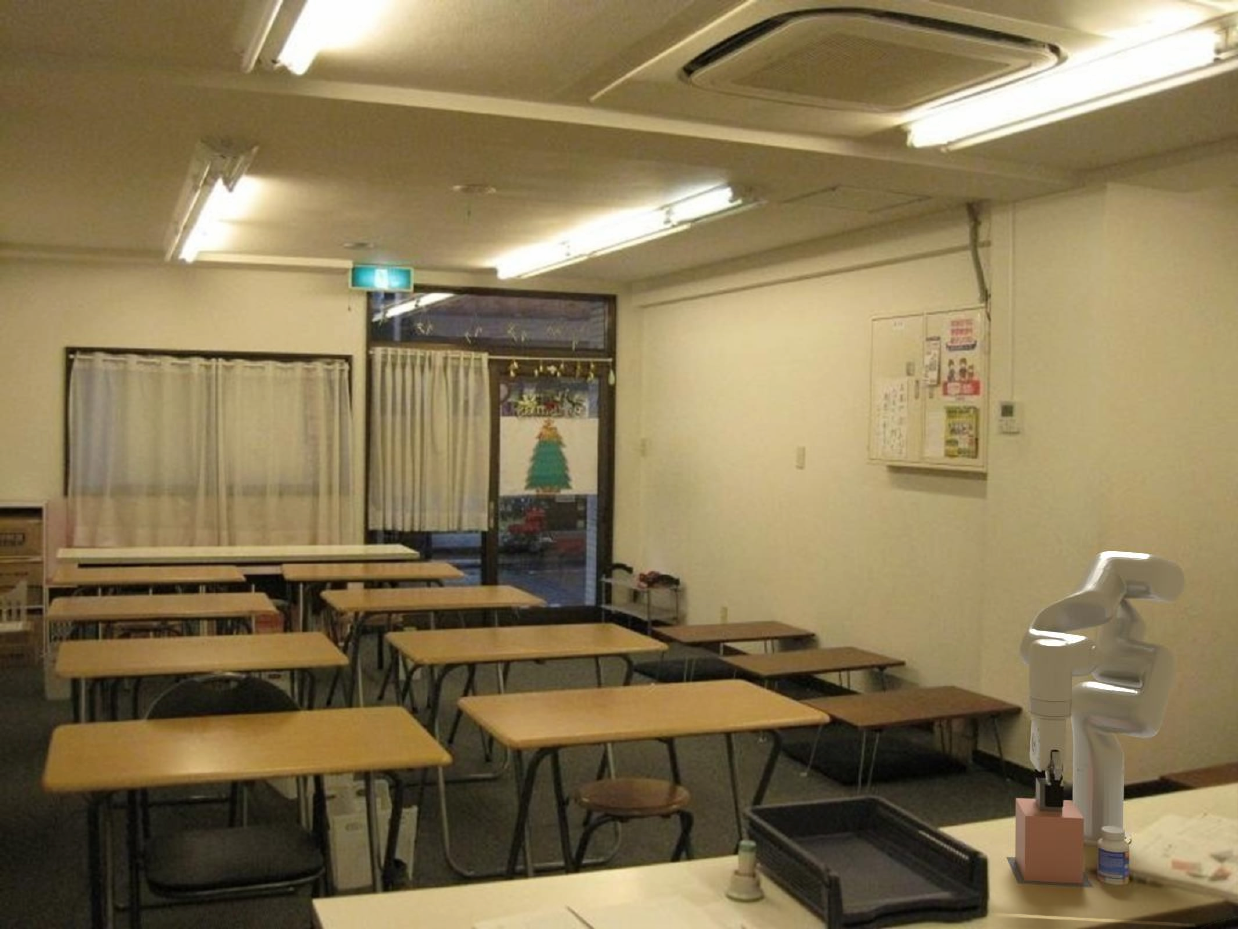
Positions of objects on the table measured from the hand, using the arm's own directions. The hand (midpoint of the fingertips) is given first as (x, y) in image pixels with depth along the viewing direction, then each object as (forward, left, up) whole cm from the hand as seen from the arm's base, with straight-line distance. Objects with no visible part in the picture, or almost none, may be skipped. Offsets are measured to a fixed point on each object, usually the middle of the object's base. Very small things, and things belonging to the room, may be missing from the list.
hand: (1048, 798), depth 226 cm
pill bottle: (+2, +11, -15) cm, 18 cm away
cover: (0, 0, -14) cm, 14 cm away
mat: (0, 0, -14) cm, 14 cm away
